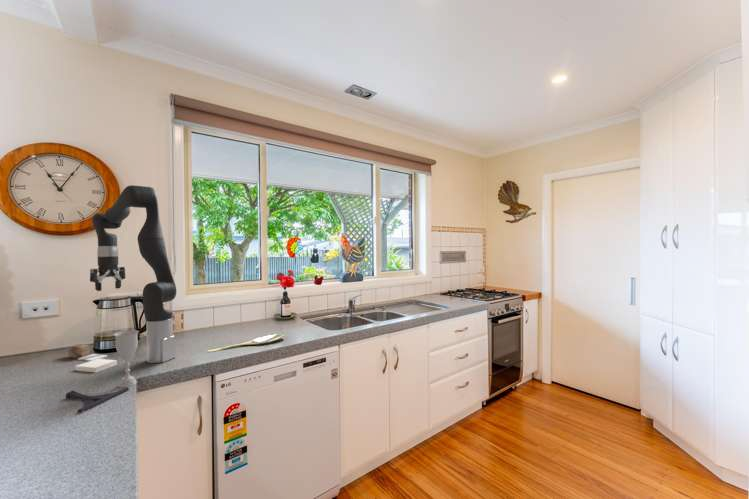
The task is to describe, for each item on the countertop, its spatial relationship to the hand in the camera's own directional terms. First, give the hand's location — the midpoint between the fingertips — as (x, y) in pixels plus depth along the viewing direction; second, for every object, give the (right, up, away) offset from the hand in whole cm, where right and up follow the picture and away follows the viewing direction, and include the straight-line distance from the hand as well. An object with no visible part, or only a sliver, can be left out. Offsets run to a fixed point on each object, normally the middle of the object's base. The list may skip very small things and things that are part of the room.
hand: (108, 289), depth 148 cm
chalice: (+41, -28, -39) cm, 63 cm away
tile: (+11, -28, -23) cm, 37 cm away
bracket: (+36, -29, -50) cm, 68 cm away
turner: (0, -28, -12) cm, 31 cm away
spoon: (+65, -28, +3) cm, 71 cm away
